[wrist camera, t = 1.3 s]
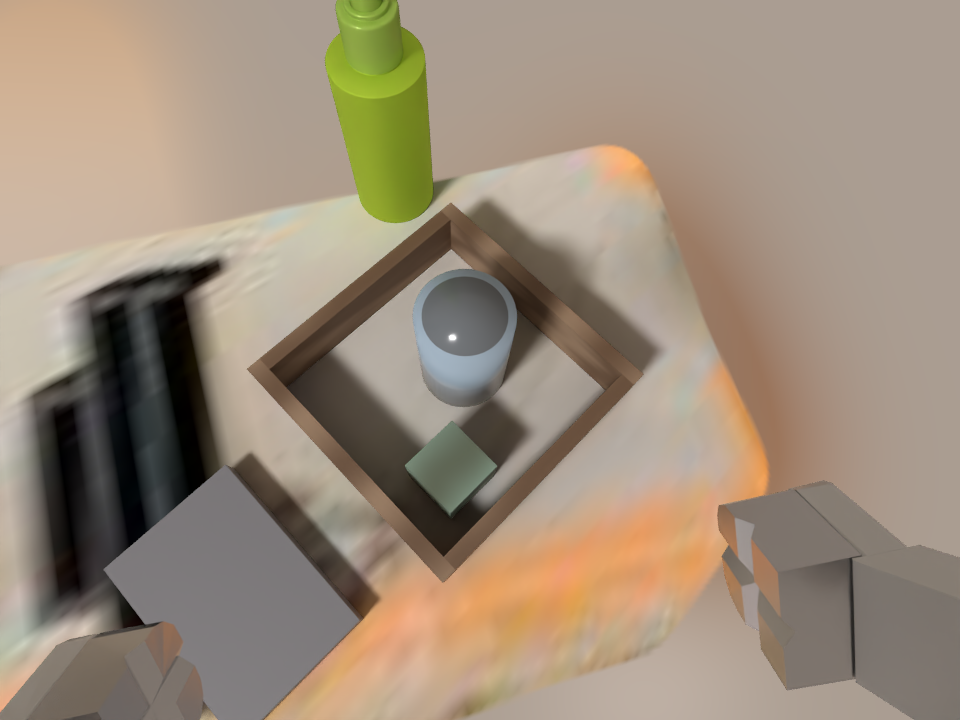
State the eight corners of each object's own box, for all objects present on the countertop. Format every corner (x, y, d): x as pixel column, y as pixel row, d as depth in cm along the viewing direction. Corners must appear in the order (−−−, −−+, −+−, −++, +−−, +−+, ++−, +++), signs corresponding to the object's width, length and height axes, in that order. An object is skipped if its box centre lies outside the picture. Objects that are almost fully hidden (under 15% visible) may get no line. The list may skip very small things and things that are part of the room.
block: (409, 475, 41) (404, 465, 37) (452, 434, 42) (452, 420, 38) (450, 519, 40) (450, 513, 36) (493, 476, 41) (497, 466, 37)
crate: (265, 387, 42) (246, 369, 38) (451, 232, 47) (450, 202, 43) (444, 582, 38) (442, 583, 34) (627, 392, 43) (643, 374, 39)
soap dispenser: (339, 170, 48) (264, -87, 30) (423, 154, 49) (403, -107, 30) (353, 232, 47) (283, -1, 28) (440, 214, 47) (430, -24, 29)
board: (116, 569, 38) (103, 569, 36) (233, 468, 40) (225, 464, 39) (245, 737, 35) (237, 744, 34) (363, 618, 37) (359, 620, 36)
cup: (404, 365, 43) (391, 314, 35) (464, 312, 45) (465, 250, 36) (462, 424, 42) (464, 385, 33) (522, 367, 43) (538, 316, 35)
